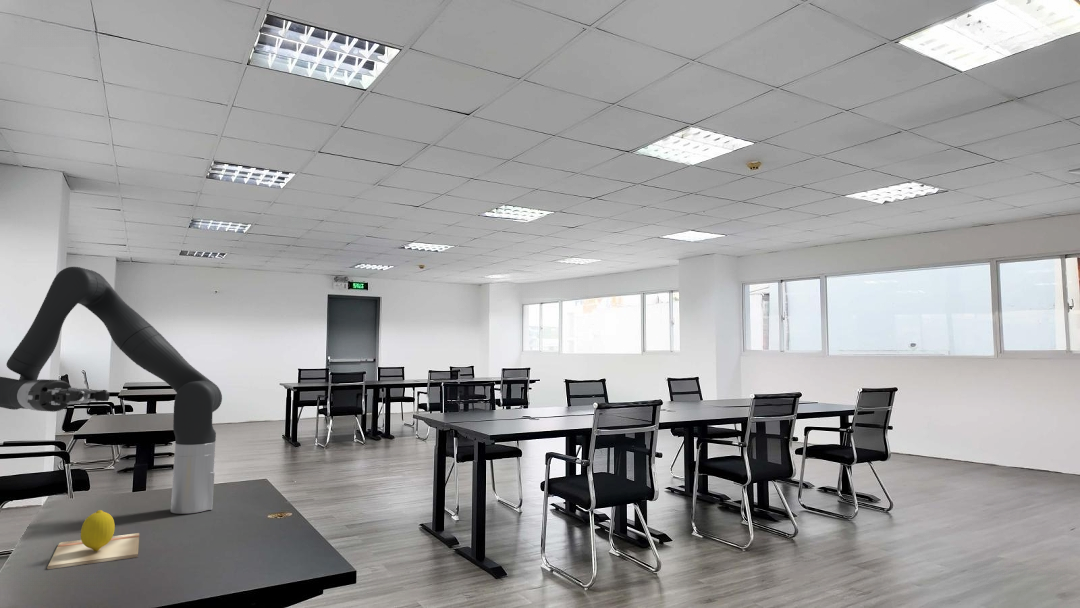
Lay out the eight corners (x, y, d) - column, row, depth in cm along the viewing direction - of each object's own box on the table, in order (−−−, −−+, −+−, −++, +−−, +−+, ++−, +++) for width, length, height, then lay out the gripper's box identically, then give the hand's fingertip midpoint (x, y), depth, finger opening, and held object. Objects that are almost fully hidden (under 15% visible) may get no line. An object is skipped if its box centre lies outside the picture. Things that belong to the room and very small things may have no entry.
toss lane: (139, 534, 134) (139, 532, 134) (137, 557, 119) (137, 554, 119) (59, 544, 127) (59, 541, 127) (47, 569, 112) (47, 566, 112)
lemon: (95, 556, 118) (98, 514, 119) (71, 554, 119) (75, 512, 120) (119, 548, 123) (123, 507, 124) (97, 546, 124) (100, 506, 125)
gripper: (11, 380, 139) (55, 381, 133) (78, 378, 152) (120, 380, 146) (8, 413, 139) (52, 416, 132) (75, 408, 152) (118, 411, 146)
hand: (88, 397), depth 139 cm, fingers open, 8 cm apart
